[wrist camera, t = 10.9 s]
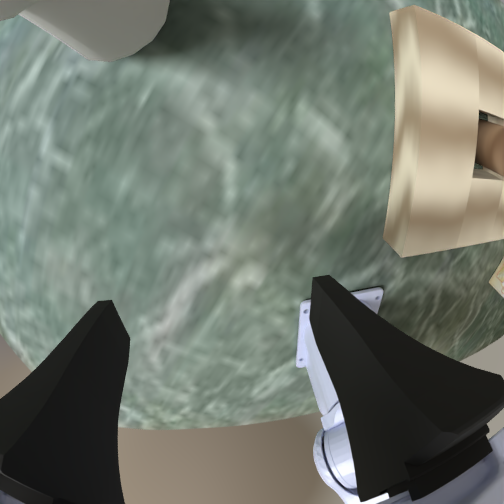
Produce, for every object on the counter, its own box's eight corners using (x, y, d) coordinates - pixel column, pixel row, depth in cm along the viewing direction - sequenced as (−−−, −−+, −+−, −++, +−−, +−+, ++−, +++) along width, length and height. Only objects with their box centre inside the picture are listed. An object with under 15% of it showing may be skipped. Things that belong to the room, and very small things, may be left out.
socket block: (498, 223, 22) (515, 236, 20) (382, 238, 21) (401, 257, 18) (515, 72, 13) (536, 77, 10) (389, 12, 12) (414, 4, 9)
